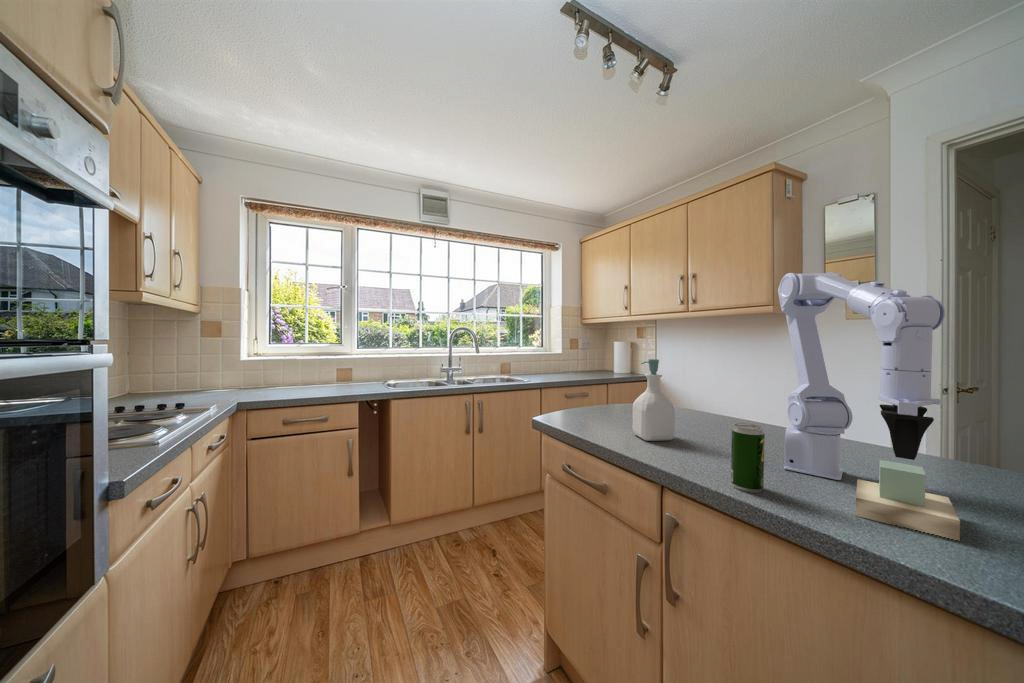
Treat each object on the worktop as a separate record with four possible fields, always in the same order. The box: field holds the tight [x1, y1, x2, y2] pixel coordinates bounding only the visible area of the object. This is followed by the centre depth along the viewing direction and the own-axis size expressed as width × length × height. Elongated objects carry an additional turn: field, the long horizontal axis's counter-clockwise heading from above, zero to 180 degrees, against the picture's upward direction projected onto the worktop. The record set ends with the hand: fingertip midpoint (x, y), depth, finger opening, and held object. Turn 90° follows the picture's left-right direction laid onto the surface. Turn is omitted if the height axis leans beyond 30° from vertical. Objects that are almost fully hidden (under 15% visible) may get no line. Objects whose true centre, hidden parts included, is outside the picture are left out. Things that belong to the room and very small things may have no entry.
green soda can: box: [730, 422, 766, 494], centre depth 72 cm, size 5×5×12 cm
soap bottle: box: [632, 358, 676, 442], centre depth 107 cm, size 10×10×23 cm
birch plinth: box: [855, 478, 961, 542], centre depth 61 cm, size 11×11×3 cm
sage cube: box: [878, 459, 927, 507], centre depth 61 cm, size 5×5×5 cm
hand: (903, 452), depth 61 cm, fingers open, 7 cm apart
